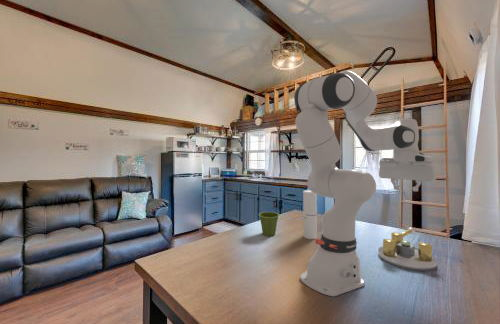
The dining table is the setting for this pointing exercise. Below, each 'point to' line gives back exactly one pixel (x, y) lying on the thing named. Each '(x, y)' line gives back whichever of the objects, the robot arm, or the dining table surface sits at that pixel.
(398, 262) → the tribrach
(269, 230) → the plant pot
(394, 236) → the brass lever handle
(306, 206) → the cylindrical container
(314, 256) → the robot arm
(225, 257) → the dining table surface
